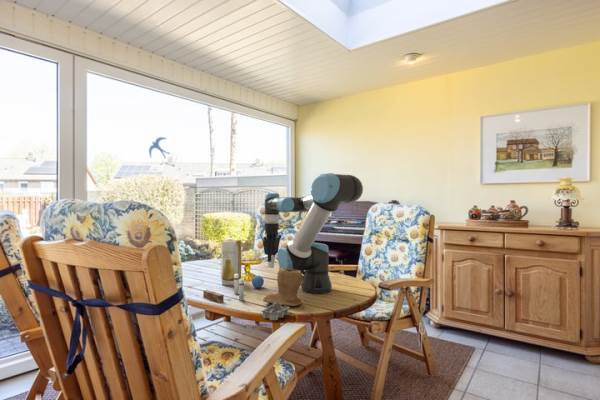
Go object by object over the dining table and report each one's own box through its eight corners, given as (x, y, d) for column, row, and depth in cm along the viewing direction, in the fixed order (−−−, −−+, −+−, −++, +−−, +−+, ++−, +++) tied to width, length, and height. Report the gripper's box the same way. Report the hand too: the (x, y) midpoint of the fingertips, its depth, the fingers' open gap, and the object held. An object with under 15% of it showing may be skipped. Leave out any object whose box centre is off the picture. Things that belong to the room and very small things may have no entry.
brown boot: (306, 302, 144) (306, 267, 144) (295, 310, 133) (295, 272, 133) (275, 297, 150) (275, 264, 150) (262, 305, 139) (262, 269, 139)
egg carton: (277, 310, 133) (277, 300, 133) (292, 314, 129) (292, 304, 129) (258, 317, 125) (258, 306, 125) (273, 322, 120) (273, 311, 120)
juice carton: (219, 285, 171) (219, 238, 171) (226, 281, 178) (226, 236, 178) (236, 286, 169) (236, 239, 169) (242, 282, 176) (243, 237, 176)
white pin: (239, 293, 155) (239, 274, 155) (236, 294, 154) (236, 275, 154) (236, 292, 157) (236, 273, 157) (233, 293, 155) (233, 274, 155)
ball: (266, 287, 167) (266, 275, 167) (257, 290, 162) (257, 277, 162) (258, 285, 170) (258, 273, 170) (249, 287, 166) (249, 275, 166)
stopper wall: (223, 301, 143) (223, 294, 143) (219, 302, 141) (219, 295, 141) (207, 296, 151) (207, 289, 151) (203, 297, 149) (203, 290, 149)
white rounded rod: (244, 300, 145) (244, 279, 145) (241, 301, 144) (241, 280, 144) (241, 299, 147) (241, 278, 147) (237, 300, 145) (238, 279, 145)
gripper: (275, 221, 181) (274, 264, 181) (257, 222, 171) (256, 268, 171) (285, 222, 176) (284, 266, 176) (267, 223, 166) (267, 270, 166)
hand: (271, 267), depth 174 cm, fingers closed
